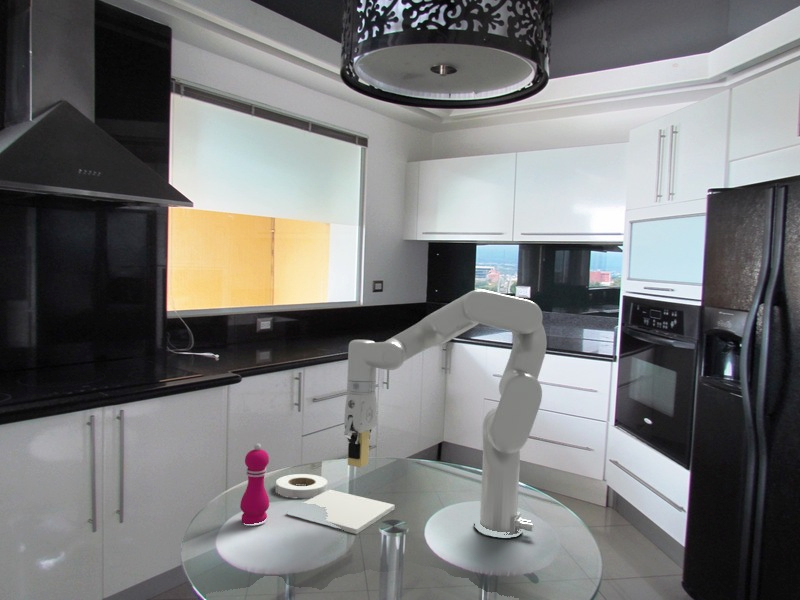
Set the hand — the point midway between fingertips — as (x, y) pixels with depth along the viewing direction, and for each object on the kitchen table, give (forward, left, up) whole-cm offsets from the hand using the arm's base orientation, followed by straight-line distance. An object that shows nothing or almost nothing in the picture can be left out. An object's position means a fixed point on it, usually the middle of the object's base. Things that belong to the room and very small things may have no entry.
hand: (358, 455), depth 143 cm
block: (0, 0, -2) cm, 2 cm away
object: (+26, -11, -18) cm, 33 cm away
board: (+6, -3, -17) cm, 18 cm away
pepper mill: (+21, +15, -17) cm, 31 cm away
